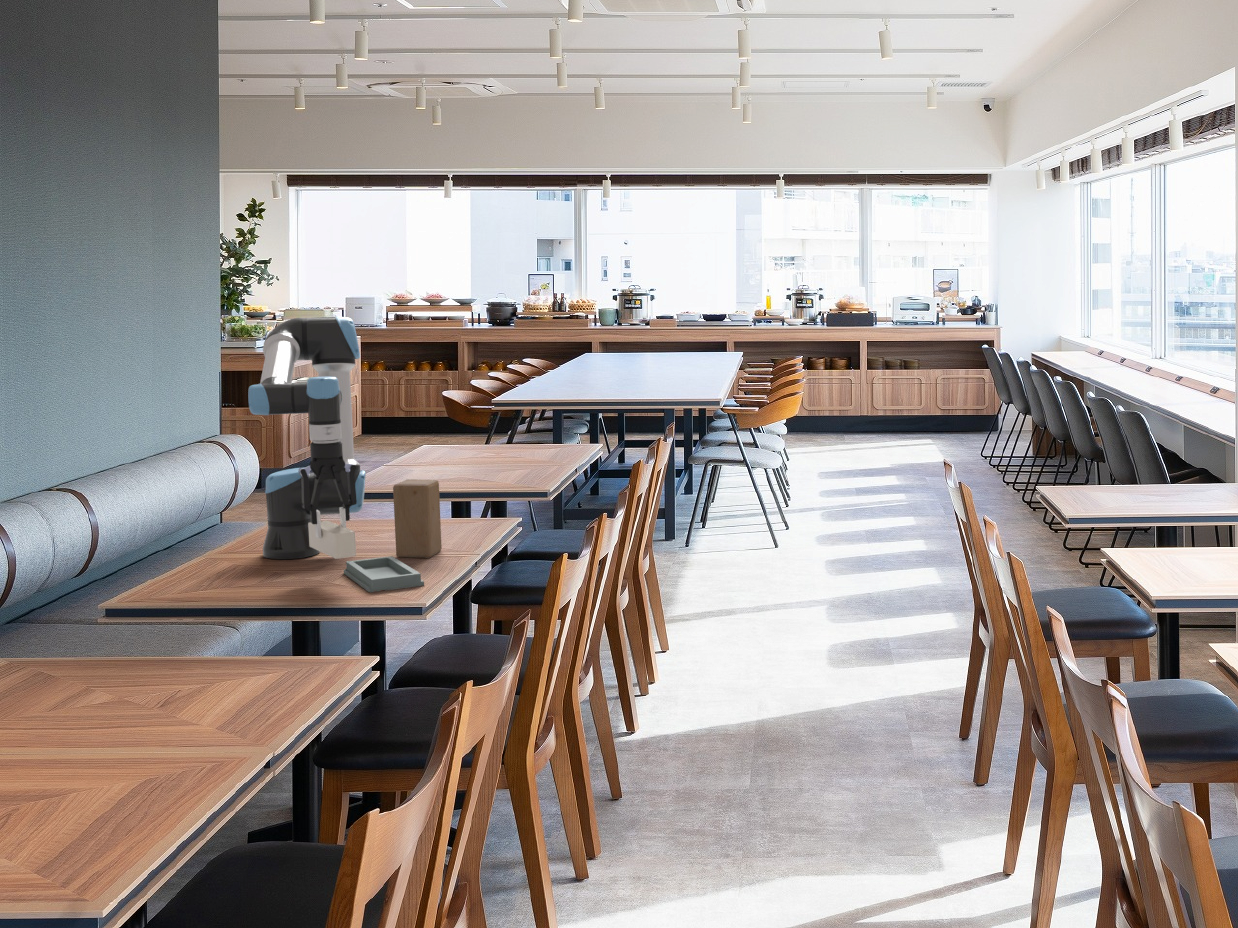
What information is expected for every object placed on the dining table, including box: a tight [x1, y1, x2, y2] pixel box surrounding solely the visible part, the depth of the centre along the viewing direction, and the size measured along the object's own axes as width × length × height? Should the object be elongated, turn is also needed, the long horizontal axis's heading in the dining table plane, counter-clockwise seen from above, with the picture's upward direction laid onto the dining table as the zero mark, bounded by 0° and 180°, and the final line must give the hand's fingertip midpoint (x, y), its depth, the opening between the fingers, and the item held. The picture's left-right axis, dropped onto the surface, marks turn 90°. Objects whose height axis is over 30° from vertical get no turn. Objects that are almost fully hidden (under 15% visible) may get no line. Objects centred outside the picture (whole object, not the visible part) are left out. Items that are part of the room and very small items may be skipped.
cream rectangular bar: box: [308, 519, 357, 560], centre depth 303 cm, size 18×5×6 cm, turn 34°
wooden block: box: [392, 478, 442, 559], centre depth 336 cm, size 10×10×20 cm
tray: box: [343, 555, 425, 593], centre depth 308 cm, size 24×14×3 cm, turn 27°
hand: (331, 535), depth 303 cm, fingers closed on cream rectangular bar, 5 cm apart
